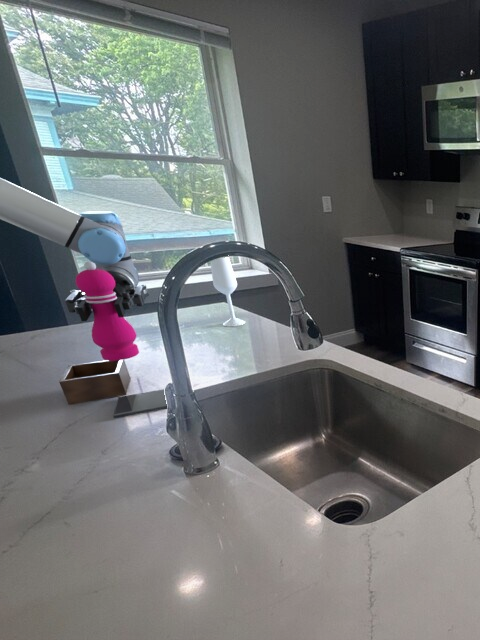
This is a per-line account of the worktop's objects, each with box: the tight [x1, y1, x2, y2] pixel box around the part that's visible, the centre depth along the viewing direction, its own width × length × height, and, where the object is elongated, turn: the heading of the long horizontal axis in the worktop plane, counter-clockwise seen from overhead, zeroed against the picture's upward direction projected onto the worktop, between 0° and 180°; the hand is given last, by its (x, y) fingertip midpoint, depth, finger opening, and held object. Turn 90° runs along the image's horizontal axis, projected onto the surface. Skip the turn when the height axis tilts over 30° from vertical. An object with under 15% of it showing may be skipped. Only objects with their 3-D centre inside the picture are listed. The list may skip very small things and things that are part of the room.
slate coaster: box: [113, 388, 168, 419], centre depth 104 cm, size 10×10×1 cm
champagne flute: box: [209, 256, 246, 327], centre depth 150 cm, size 7×7×24 cm
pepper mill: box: [75, 260, 140, 361], centre depth 96 cm, size 7×7×20 cm
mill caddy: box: [58, 359, 131, 405], centre depth 108 cm, size 10×10×6 cm
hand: (100, 312), depth 92 cm, fingers closed on pepper mill, 5 cm apart
